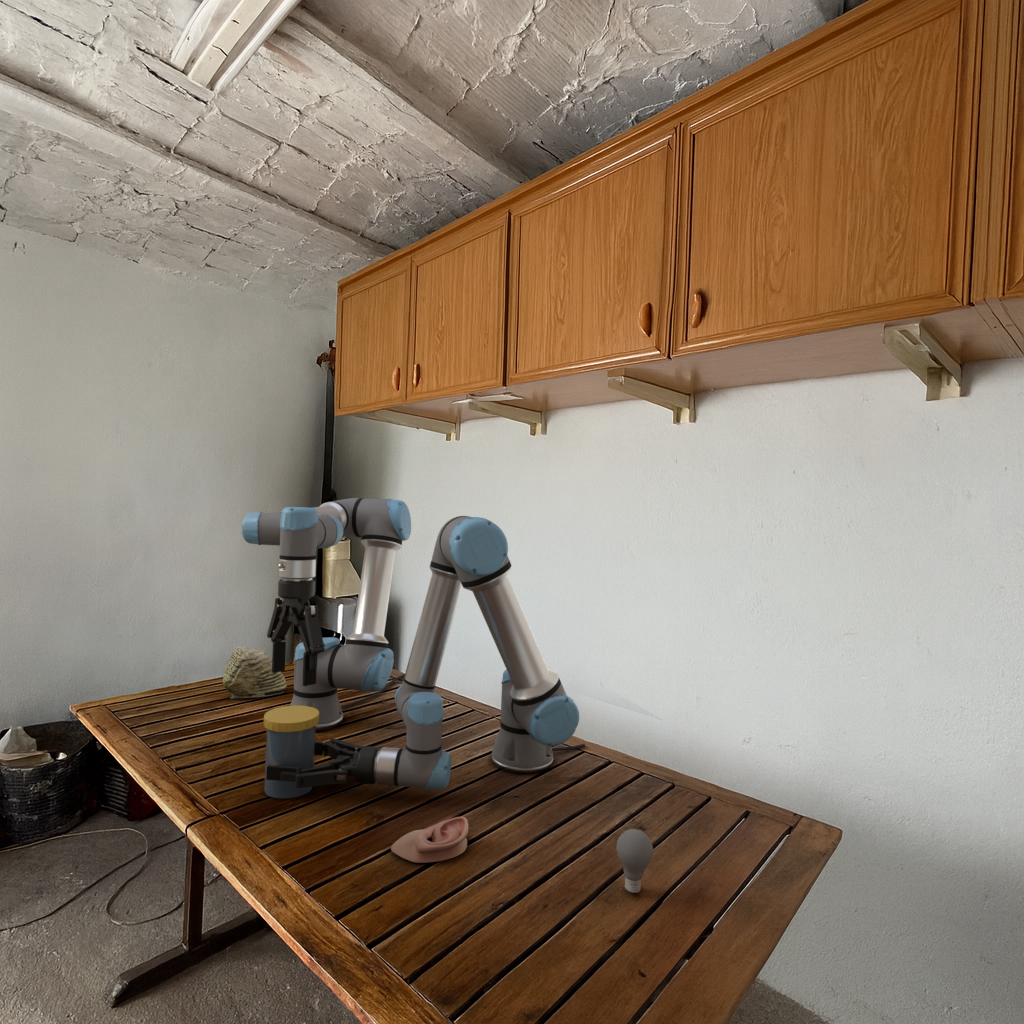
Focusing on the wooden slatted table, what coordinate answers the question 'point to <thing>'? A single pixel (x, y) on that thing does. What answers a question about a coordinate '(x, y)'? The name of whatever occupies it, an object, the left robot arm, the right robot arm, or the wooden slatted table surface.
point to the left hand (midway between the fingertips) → (293, 678)
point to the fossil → (252, 675)
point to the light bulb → (634, 857)
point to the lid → (291, 718)
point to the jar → (288, 759)
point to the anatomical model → (434, 842)
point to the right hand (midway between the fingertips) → (281, 758)
